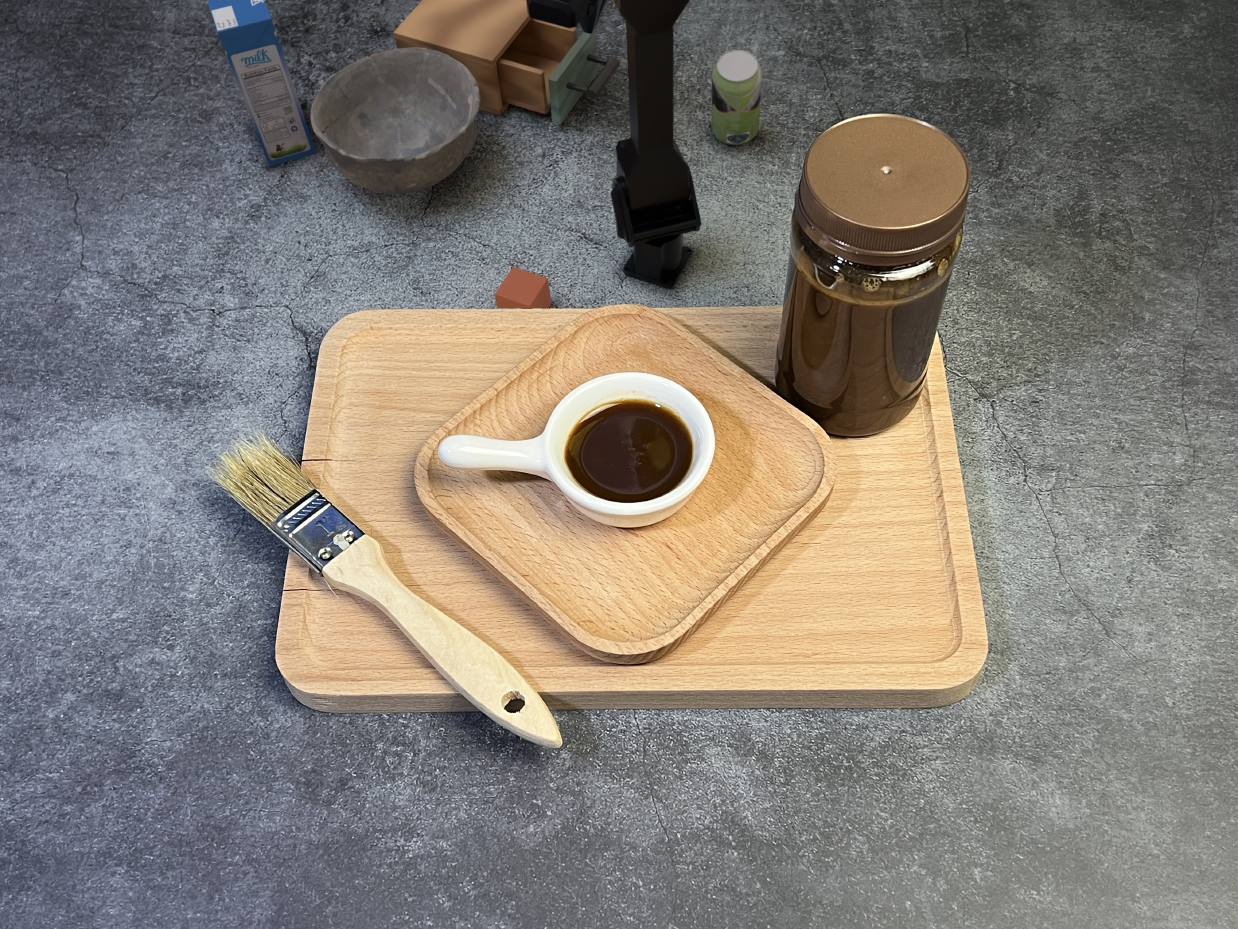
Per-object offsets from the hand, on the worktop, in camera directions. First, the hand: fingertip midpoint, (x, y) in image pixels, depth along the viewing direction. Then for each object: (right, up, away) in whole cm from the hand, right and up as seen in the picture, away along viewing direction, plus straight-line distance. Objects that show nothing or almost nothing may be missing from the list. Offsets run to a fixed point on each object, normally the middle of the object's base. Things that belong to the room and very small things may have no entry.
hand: (588, 31), depth 135 cm
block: (-7, -36, -8) cm, 37 cm away
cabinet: (-16, 0, +15) cm, 22 cm away
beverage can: (+18, -11, +7) cm, 23 cm away
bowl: (-23, -15, +6) cm, 28 cm away
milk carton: (-40, -10, +10) cm, 42 cm away
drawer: (-6, -3, +12) cm, 13 cm away
